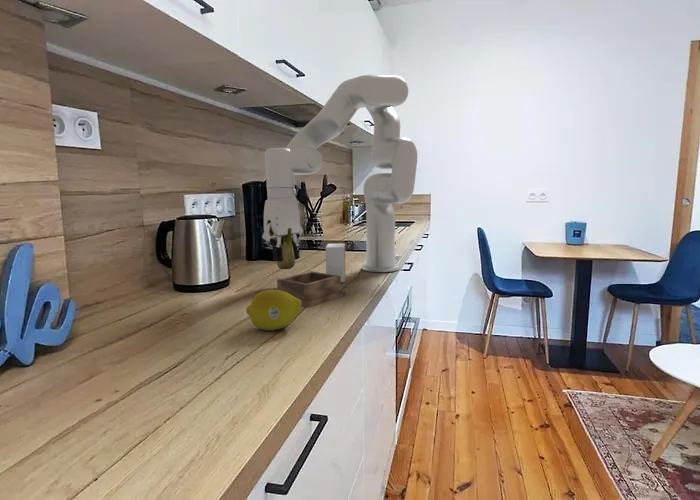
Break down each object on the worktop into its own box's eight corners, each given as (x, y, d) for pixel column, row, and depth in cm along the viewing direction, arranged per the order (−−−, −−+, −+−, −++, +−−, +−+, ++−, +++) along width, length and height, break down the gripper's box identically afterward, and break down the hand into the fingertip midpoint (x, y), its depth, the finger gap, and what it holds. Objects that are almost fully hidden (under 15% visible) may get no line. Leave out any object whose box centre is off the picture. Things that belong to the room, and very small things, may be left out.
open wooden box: (311, 287, 118) (310, 270, 118) (345, 294, 111) (344, 275, 110) (273, 298, 108) (272, 279, 107) (308, 307, 100) (307, 286, 99)
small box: (344, 282, 124) (344, 247, 123) (325, 282, 124) (325, 247, 123) (345, 276, 132) (345, 243, 131) (327, 276, 132) (327, 243, 131)
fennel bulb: (273, 268, 122) (270, 226, 119) (288, 265, 124) (286, 224, 122) (282, 271, 117) (280, 228, 115) (298, 268, 120) (296, 226, 118)
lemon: (242, 335, 82) (240, 295, 81) (253, 322, 90) (251, 285, 88) (298, 336, 81) (297, 295, 80) (304, 322, 89) (303, 285, 88)
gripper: (293, 192, 126) (297, 253, 129) (247, 196, 113) (252, 263, 116) (312, 192, 121) (315, 255, 125) (266, 196, 108) (271, 266, 111)
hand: (285, 258), depth 120 cm, fingers closed on fennel bulb, 4 cm apart
